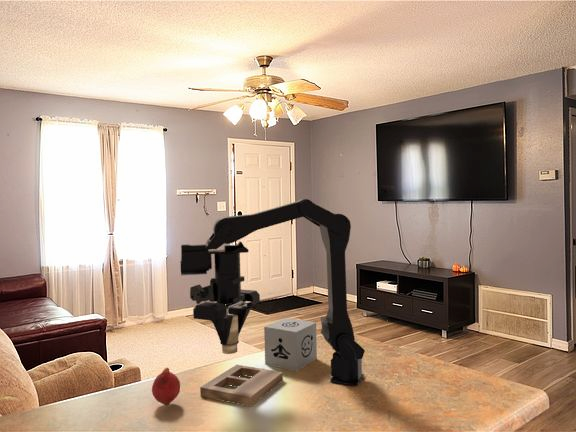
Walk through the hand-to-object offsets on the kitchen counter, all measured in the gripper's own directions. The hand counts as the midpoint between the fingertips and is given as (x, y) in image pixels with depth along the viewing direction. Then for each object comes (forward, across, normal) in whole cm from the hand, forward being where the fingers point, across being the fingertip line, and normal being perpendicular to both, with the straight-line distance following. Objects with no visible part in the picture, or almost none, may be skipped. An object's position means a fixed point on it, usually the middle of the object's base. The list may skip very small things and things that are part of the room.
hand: (229, 341), depth 104 cm
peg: (+2, 0, 0) cm, 2 cm away
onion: (+12, +11, -9) cm, 18 cm away
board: (+12, -3, +1) cm, 12 cm away
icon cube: (+12, -23, +4) cm, 26 cm away
